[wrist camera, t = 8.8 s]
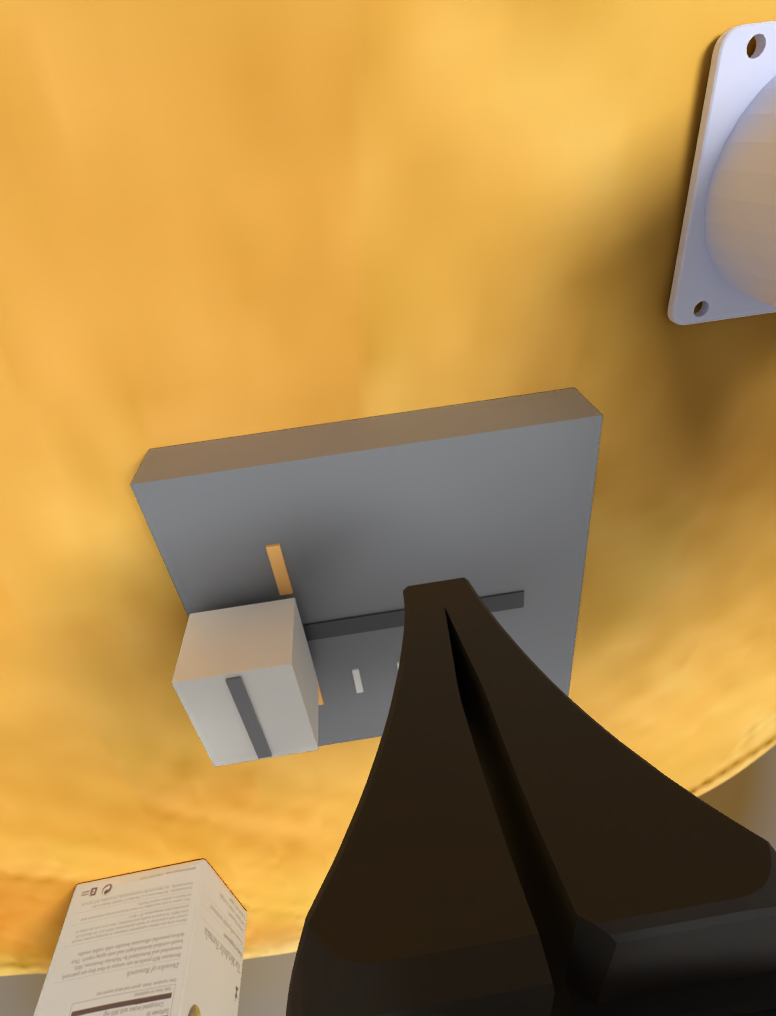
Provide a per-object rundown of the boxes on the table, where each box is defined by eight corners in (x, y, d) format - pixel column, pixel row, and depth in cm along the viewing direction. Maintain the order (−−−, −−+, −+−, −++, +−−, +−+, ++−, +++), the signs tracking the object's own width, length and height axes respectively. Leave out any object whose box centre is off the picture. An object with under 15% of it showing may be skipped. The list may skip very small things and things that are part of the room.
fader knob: (295, 592, 21) (291, 666, 18) (318, 676, 24) (318, 752, 21) (191, 608, 21) (170, 685, 18) (226, 690, 24) (214, 769, 21)
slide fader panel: (574, 387, 21) (604, 416, 19) (549, 666, 30) (568, 708, 28) (149, 449, 20) (128, 486, 18) (254, 713, 29) (249, 759, 27)
